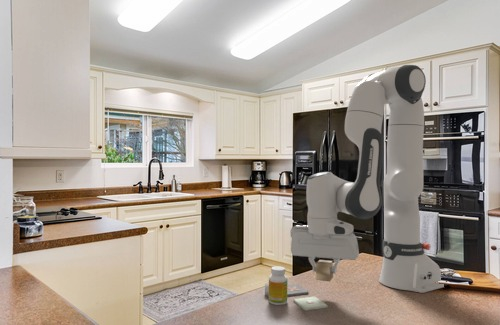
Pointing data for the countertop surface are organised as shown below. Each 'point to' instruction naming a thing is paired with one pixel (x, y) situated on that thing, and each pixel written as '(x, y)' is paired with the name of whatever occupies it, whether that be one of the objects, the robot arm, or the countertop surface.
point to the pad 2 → (310, 303)
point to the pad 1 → (295, 290)
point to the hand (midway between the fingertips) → (324, 272)
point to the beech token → (324, 270)
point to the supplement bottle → (278, 286)
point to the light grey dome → (267, 289)
